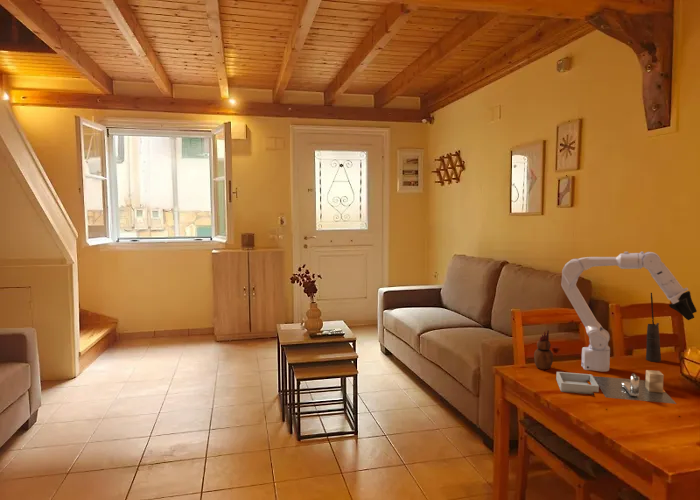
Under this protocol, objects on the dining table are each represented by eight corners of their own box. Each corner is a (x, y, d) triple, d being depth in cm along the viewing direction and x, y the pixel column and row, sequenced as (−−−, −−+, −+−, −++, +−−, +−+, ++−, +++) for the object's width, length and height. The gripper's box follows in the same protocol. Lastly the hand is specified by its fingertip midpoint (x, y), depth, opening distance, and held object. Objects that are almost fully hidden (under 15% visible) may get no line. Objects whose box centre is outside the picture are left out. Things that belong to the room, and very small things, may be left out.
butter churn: (658, 355, 198) (661, 290, 195) (674, 363, 188) (677, 294, 186) (636, 356, 198) (639, 290, 195) (651, 363, 188) (655, 294, 186)
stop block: (649, 391, 158) (649, 373, 157) (645, 387, 161) (645, 370, 161) (662, 392, 156) (663, 375, 156) (658, 388, 160) (659, 370, 160)
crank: (619, 384, 163) (620, 364, 163) (631, 384, 162) (632, 365, 162) (629, 397, 152) (630, 376, 151) (642, 398, 151) (643, 377, 150)
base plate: (605, 400, 153) (605, 396, 153) (592, 378, 172) (592, 375, 172) (676, 406, 148) (676, 403, 148) (654, 383, 167) (654, 380, 167)
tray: (561, 391, 161) (561, 383, 161) (556, 379, 172) (556, 371, 172) (598, 394, 158) (598, 386, 157) (591, 382, 169) (591, 374, 168)
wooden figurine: (549, 365, 187) (550, 328, 186) (554, 370, 181) (555, 332, 180) (532, 365, 188) (532, 328, 186) (536, 370, 182) (537, 332, 181)
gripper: (675, 281, 159) (702, 316, 156) (681, 272, 170) (706, 305, 166) (655, 291, 163) (680, 325, 160) (662, 281, 174) (686, 313, 171)
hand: (692, 315), depth 164 cm, fingers open, 7 cm apart
